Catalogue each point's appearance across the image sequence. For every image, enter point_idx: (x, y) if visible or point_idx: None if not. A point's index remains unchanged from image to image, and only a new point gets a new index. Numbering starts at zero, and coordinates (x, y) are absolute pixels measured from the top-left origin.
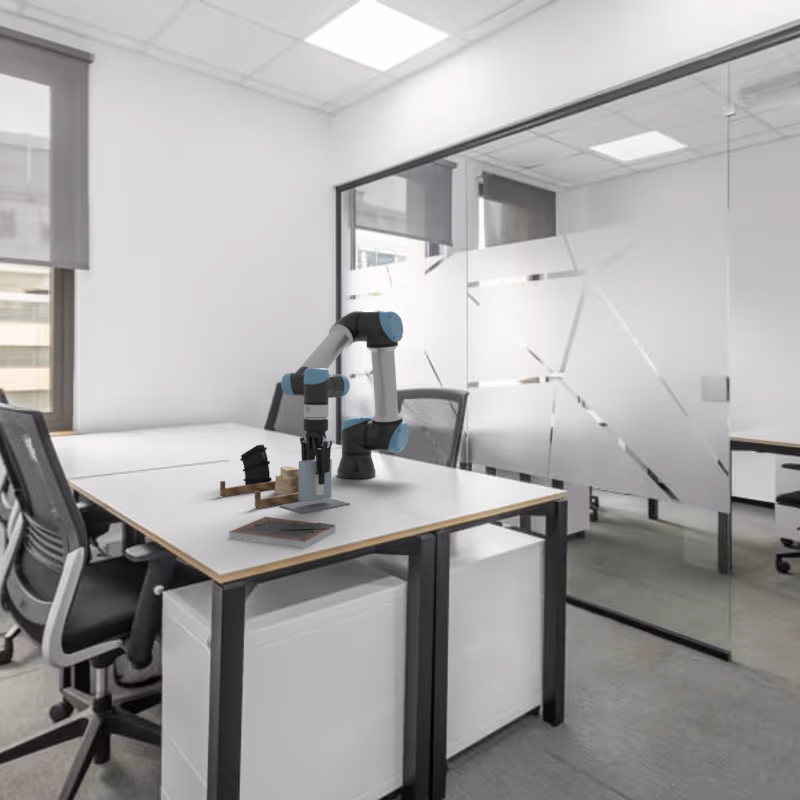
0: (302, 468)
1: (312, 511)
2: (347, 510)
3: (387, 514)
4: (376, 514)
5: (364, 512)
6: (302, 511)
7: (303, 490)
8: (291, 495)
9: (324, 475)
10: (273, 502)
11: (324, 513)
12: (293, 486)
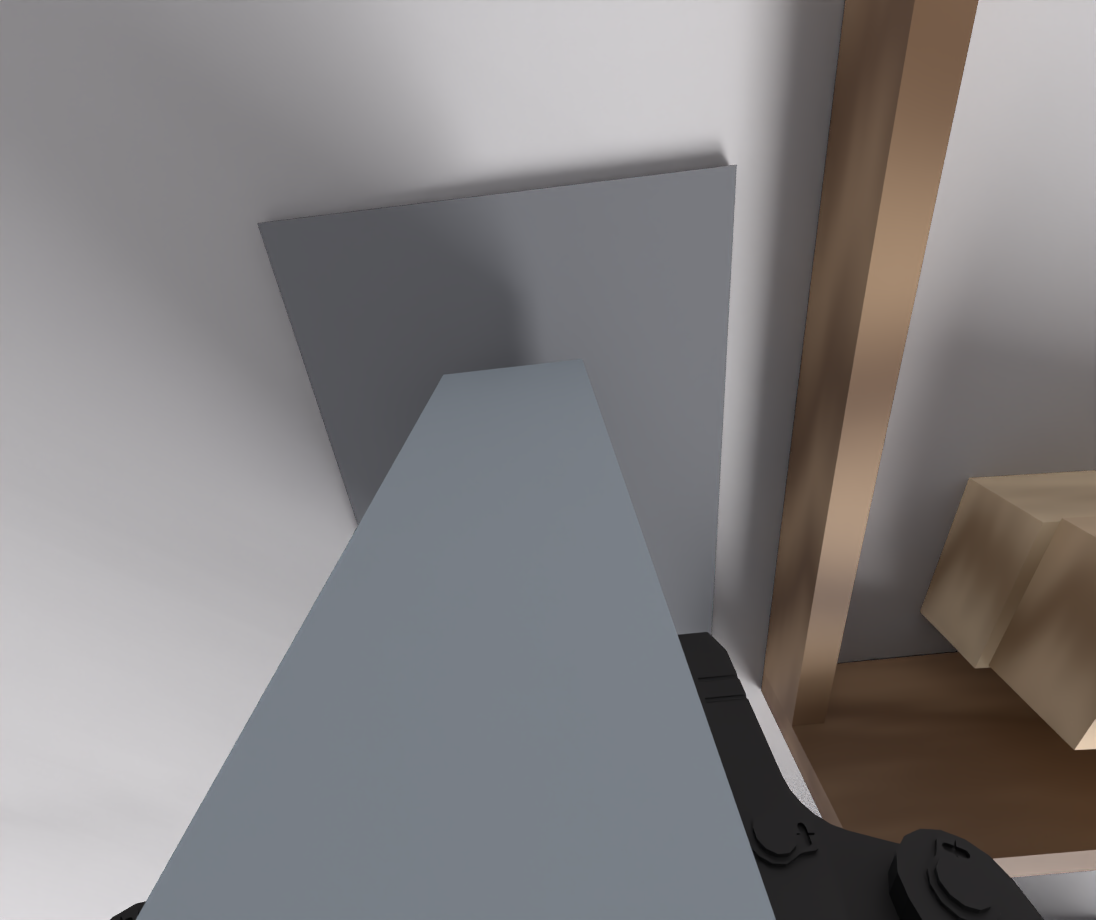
0: (423, 770)
1: (306, 355)
2: (250, 610)
3: (39, 737)
4: (56, 693)
5: (142, 665)
6: (311, 244)
7: (463, 419)
8: (838, 409)
9: None
10: (854, 116)
11: (211, 420)
12: (1062, 573)
